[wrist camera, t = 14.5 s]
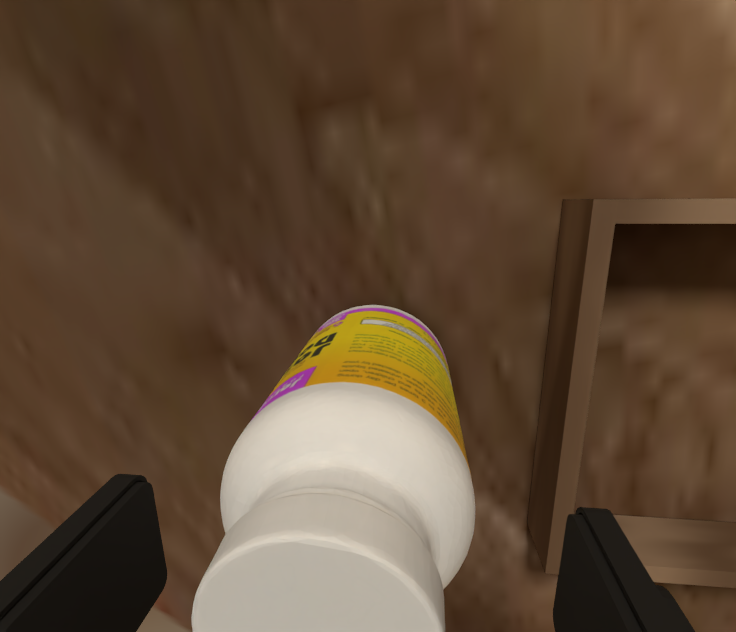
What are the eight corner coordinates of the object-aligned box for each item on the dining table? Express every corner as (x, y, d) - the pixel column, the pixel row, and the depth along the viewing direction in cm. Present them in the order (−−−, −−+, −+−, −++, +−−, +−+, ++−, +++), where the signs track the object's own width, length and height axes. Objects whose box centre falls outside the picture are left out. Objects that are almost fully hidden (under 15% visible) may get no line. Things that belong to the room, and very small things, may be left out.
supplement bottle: (345, 274, 19) (222, 410, 6) (474, 346, 19) (592, 608, 7) (282, 393, 21) (91, 676, 8) (401, 456, 21) (387, 824, 9)
